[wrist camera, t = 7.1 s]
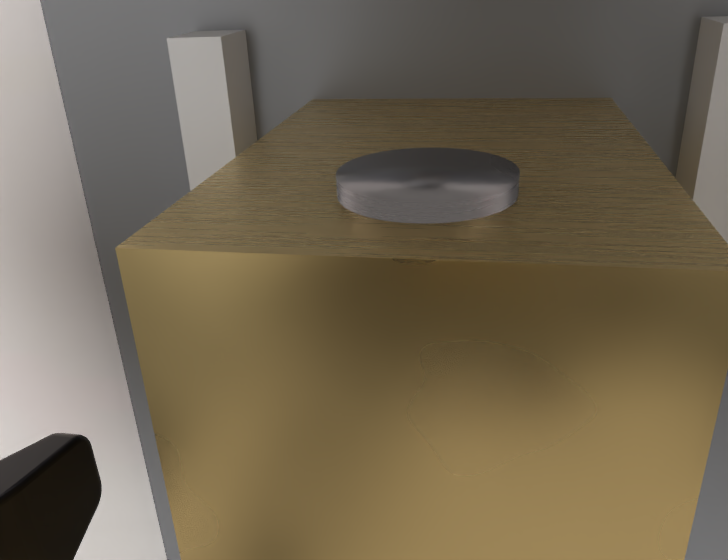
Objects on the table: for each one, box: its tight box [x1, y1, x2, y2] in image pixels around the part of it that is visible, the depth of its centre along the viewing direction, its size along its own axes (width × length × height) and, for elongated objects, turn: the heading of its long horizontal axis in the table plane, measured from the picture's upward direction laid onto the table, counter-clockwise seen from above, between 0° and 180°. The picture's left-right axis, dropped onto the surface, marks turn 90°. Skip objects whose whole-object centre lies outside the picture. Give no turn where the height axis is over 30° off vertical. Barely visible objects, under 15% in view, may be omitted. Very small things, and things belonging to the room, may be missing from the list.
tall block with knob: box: [115, 98, 728, 560], centre depth 9 cm, size 8×4×6 cm, turn 2°
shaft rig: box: [40, 0, 728, 560], centre depth 10 cm, size 28×13×4 cm, turn 3°
